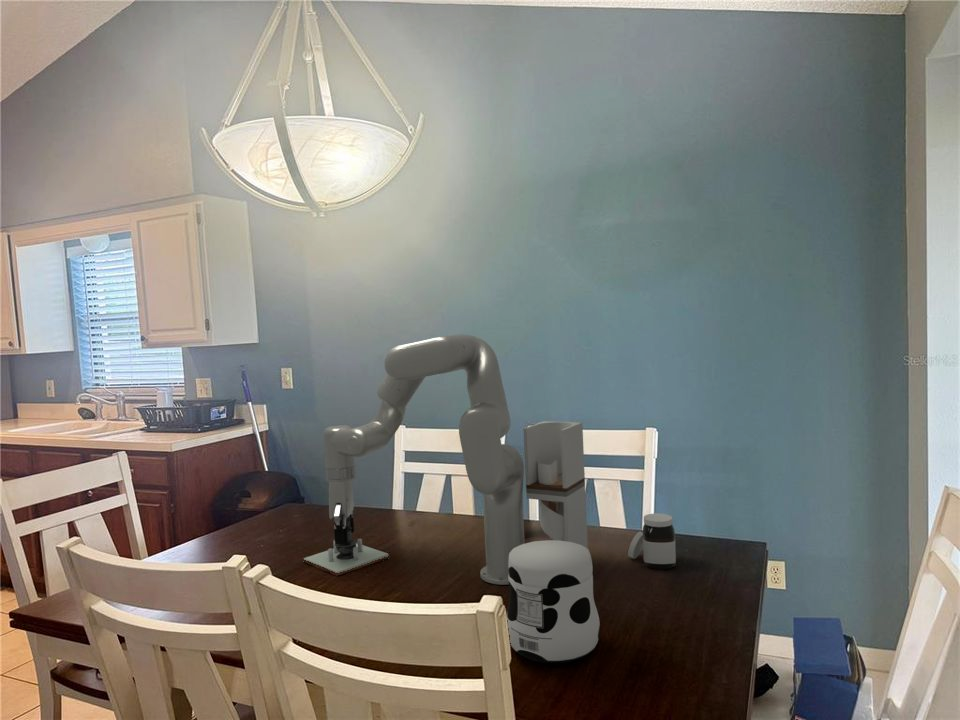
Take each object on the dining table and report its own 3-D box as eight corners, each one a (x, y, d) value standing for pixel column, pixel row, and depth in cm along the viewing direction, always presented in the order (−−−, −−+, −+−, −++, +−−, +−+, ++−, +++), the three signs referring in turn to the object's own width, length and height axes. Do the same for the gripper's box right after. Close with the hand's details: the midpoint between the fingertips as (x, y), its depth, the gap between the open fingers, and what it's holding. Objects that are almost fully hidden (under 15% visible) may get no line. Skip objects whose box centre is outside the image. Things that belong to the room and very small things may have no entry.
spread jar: (677, 572, 159) (676, 523, 158) (628, 571, 161) (626, 523, 160) (673, 554, 170) (672, 509, 170) (628, 553, 173) (626, 509, 172)
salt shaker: (348, 550, 182) (345, 507, 181) (362, 554, 178) (360, 510, 178) (330, 557, 177) (328, 512, 177) (345, 561, 174) (342, 515, 173)
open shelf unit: (549, 554, 175) (543, 421, 173) (588, 560, 169) (582, 422, 167) (530, 569, 165) (523, 428, 163) (570, 576, 159) (563, 430, 157)
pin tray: (389, 558, 178) (388, 542, 178) (337, 576, 167) (336, 559, 166) (353, 546, 189) (353, 530, 189) (303, 562, 178) (302, 546, 178)
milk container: (590, 624, 134) (586, 535, 133) (610, 669, 117) (606, 567, 116) (504, 630, 134) (499, 541, 133) (511, 675, 116) (505, 573, 115)
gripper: (333, 466, 185) (337, 528, 186) (318, 481, 168) (323, 549, 169) (360, 465, 185) (364, 527, 186) (348, 480, 168) (353, 548, 169)
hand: (344, 537), depth 178 cm, fingers open, 8 cm apart
